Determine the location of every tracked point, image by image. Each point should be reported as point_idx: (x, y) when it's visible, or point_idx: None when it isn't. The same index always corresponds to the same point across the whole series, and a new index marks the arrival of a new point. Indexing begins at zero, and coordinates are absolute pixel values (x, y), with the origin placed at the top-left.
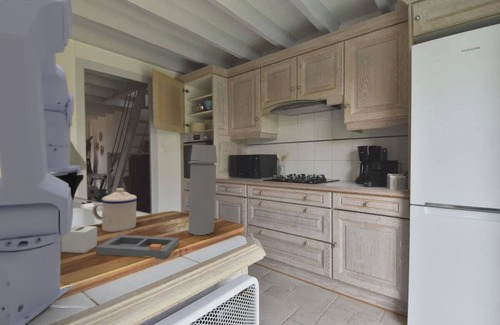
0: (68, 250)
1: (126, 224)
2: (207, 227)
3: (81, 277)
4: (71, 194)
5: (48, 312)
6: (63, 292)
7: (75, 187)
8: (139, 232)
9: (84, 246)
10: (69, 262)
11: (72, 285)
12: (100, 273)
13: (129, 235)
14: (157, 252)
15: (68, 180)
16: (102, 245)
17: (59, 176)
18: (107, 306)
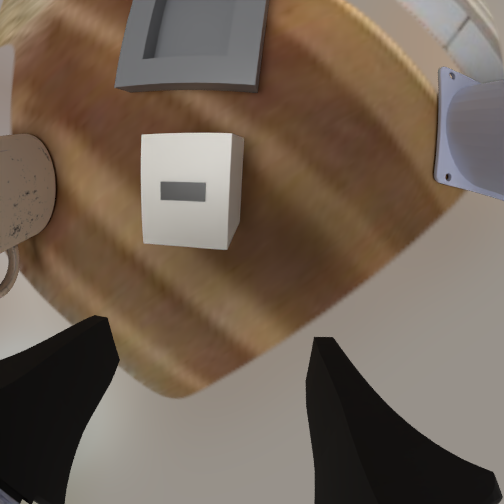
0: (239, 199)
1: (25, 142)
2: None
3: (394, 70)
4: (59, 356)
5: None
6: (467, 78)
7: (10, 370)
8: (47, 93)
9: (240, 137)
10: (305, 152)
11: (446, 69)
12: (370, 33)
13: (125, 43)
14: None
15: (14, 448)
16: (236, 71)
17: (39, 500)
18: (469, 4)
